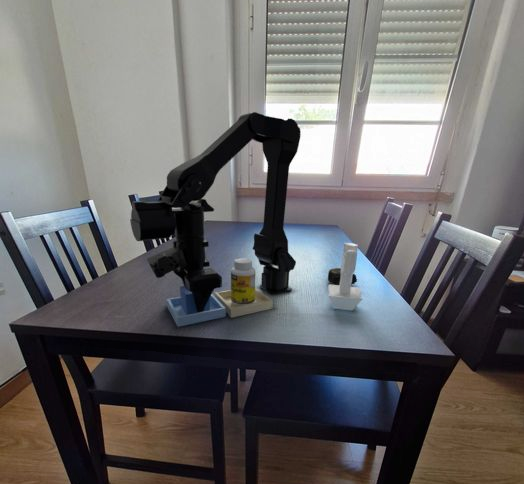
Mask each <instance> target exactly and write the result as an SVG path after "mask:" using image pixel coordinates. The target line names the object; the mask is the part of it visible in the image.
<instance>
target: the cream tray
mask: <svg viewBox="0 0 524 484" xmlns="http://www.w3.org/2000/svg"><path fill="white" fill-rule="evenodd" d="M214 297H215V298H216V299H217V300H218V301H219V302H220V303H221V304H222V305H223V306H224V307H225V308H226V315H228V316H229V317H230V318H231V319H232V318H237V317H241V316H246V315H249V314H254V313H258V312H263V311H267V310H272V309H273V305H274V304H273V300H272V299H271V298H270V297H269V296H267V295H266V294H265V293H262V291H260V290H258V289H257V288H256V287H255V301H254V303H253V304H249V305H244V306H238V305H235V304H233V303H232V301H231V289H228V290H222V291H216V292H214Z"/></svg>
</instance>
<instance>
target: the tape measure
mask: <svg viewBox="0 0 524 484" xmlns="http://www.w3.org/2000/svg"><path fill="white" fill-rule="evenodd" d="M340 278H341V267H335V268H331V269H329V270H328V274H327V281H328V282H329V283H331V284H332V285H338V286H340ZM357 282H358V279H357V274H355V273H353V277H352V283H351V285H355V284H356V283H357Z"/></svg>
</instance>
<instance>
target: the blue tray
mask: <svg viewBox="0 0 524 484" xmlns="http://www.w3.org/2000/svg"><path fill="white" fill-rule="evenodd" d="M166 306H167V309H168V311H169V313H170V315H171V316H172V319H173V320H174V322H175V324H176V326H177V328H179V327H185V326H188V325H194V324H199V323H202V322H206V321H207V322H208V321H212V320H216V319H221V318H225V317H227V313H226V308H225V307H224V306H223V305H222V304H221V303H220V302H219V301H218V300H217V299H216V298H215V294H213V293H212V294H211V296H210V310H209V311H204V312H199V313H194V314H189V315H186V313H185V312H184V310H183V309H182V306H181V296H176V297H171V298H166Z"/></svg>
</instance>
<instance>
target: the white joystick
mask: <svg viewBox="0 0 524 484" xmlns="http://www.w3.org/2000/svg"><path fill="white" fill-rule="evenodd" d="M358 249H359V245H358V244H357V243H353V242H352V243H351V242H344V243H343V249H342V256H341V264H340V268H341V278H340V285H335V284H328V299H329V301H330V303H331V306H332V309H334V310H335V309H336V310H343V311H354V310H355V309H356V307H357V306H358V305H359V304H360V302H362V300H363V297H362V293H361V288H360V287H358V286H352V284H351V283H352V277H353V274H355V271H356V267H357V259H358Z"/></svg>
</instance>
